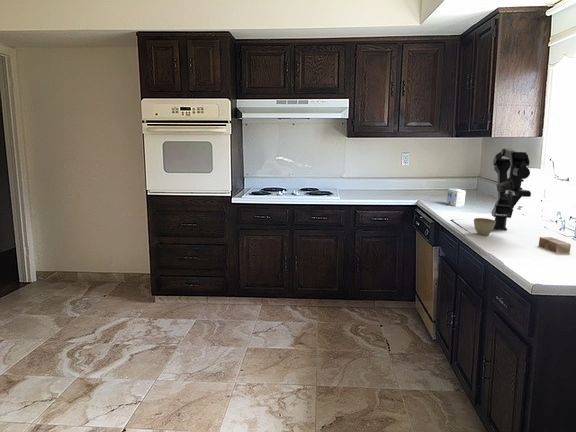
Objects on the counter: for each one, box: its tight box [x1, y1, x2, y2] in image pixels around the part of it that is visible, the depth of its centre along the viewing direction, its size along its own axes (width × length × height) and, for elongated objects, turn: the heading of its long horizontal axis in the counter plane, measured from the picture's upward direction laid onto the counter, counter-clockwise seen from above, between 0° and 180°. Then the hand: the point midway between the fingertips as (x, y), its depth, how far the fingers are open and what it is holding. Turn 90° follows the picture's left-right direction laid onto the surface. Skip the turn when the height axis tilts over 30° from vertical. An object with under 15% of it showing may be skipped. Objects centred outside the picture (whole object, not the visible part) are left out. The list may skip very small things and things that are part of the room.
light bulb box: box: [446, 188, 467, 207], centre depth 319 cm, size 11×7×11 cm, turn 17°
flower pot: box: [473, 217, 496, 236], centre depth 232 cm, size 10×10×7 cm
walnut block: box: [538, 236, 572, 254], centre depth 209 cm, size 4×6×12 cm
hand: (511, 208), depth 233 cm, fingers closed
